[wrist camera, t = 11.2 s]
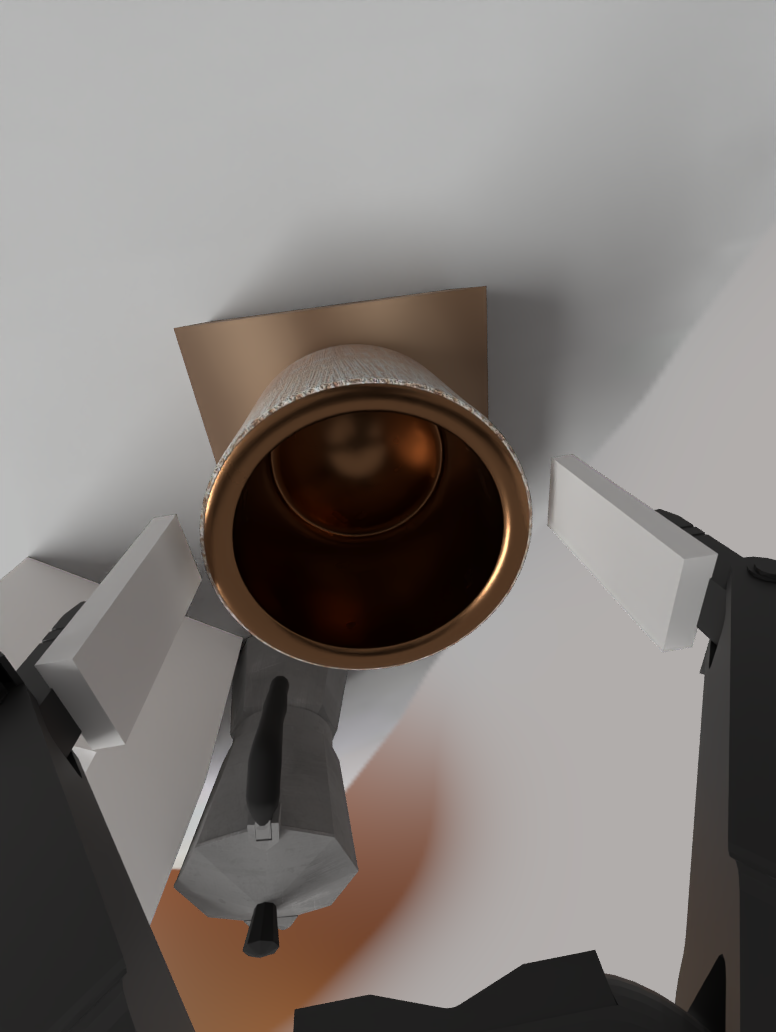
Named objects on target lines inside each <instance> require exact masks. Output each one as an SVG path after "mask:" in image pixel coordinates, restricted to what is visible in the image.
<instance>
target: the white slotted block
mask: <svg viewBox="0 0 776 1032" xmlns="http://www.w3.org/2000/svg"><path fill="white" fill-rule="evenodd" d="M99 585H100V584H98V583H96V582H93V581H91V580H88V579H85V578H83V577H80V576H77V575H75V574H72V573H69V572H67V571H64V570H61V569H59V568H56V567H53V566H51V565H48V564H45V563H43V562H40V561H37V560H35V559H32V558H29V557H27V558H26V559H25V560H23V561H22V562H21V563H20V564H19V565H17V566H16V567H15V568H14V569H13V570H12V571H10V572H9V573H8V574H7V575H6V576H4V577H3V578H2V579H1V580H0V652H2V653H3V654H4V655H5V657H6V658H7V659H8V661H9V662H10V664H11V665H12V666H13V668H14V669H15V671H16V670H17V669H18V668H19V667H20V666H21V665H22V663H23V662H24V661H25V660H26V659H27V657H28V656H29V655H30V654H31V653H32V651H33V650H34V649H35V648H36V647H37V646H38V644H39V643H42V640H43V638H44V637H45V636H46V635H47V634H48V633H49V632H51V631H52V628H53V627H54V625H55V624H56V623H57V622H58V621H59V620H60V618H61V617H62V616H63V615H64V614H65V613H67V612H68V611H69V610H71V609H72V608H73V607H75V606H76V605H77V604H79V603H80V602H83V601H87V600H88V598H89V597H90V596H91V595H92V593H93V592H94V591H95V590H96V588H97V587H98V586H99ZM242 640H243V638H242V637H240V636H237V635H234V634H232V633H229V632H226V631H224V630H221V629H218V628H216V627H213V626H210V625H208V624H205V623H202V622H200V621H197V620H194V619H192V618H189V617H186V616H185V617H184V619H183V621H182V624H181V626H180V628H179V630H178V632H177V634H176V636H175V639H174V641H173V643H172V645H171V647H170V649H169V651H168V654H167V656H166V658H165V660H164V662H163V664H162V666H161V669H160V671H159V673H158V675H157V677H156V679H155V682H154V684H153V686H152V688H151V690H150V692H149V694H148V697H147V699H146V701H145V703H144V705H143V707H142V709H141V712H140V714H139V716H138V718H137V720H136V722H135V724H134V727H133V729H132V731H131V733H130V735H129V737H128V740H127V742H126V744H124V745H118V746H113V747H107V748H101V749H95V750H92V749H91V747H90V746H89V745H88V743H87V742H86V740H85V739H84V737H83V736H82V734H80V736H79V738H78V740H77V741H76V743H75V745H74V747H73V748H72V750H73V752H74V753H75V754H76V756H77V757H78V759H79V761H80V763H81V766H82V768H83V770H84V773H85V775H86V777H87V780H88V782H89V784H90V787H91V789H92V791H93V794H94V796H95V798H96V801H97V803H98V805H99V808H100V810H101V812H102V815H103V817H104V819H105V822H106V824H107V826H108V829H109V831H110V833H111V836H112V838H113V840H114V843H115V845H116V847H117V850H118V852H119V855H120V857H121V859H122V862H123V864H124V866H125V869H126V871H127V873H128V876H129V878H130V880H131V883H132V885H133V887H134V890H135V892H136V894H137V897H138V899H139V901H140V904H141V906H142V908H143V911H144V913H145V915H146V918H147V920H148V922H149V925H150V924H151V921H152V919H153V916H154V914H155V911H156V908H157V905H158V903H159V900H160V898H161V895H162V892H163V890H164V888H165V884H166V882H167V880H168V877H169V874H170V872H171V869H172V867H173V864H174V861H175V859H176V856H177V854H178V851H179V848H180V846H181V843H182V841H183V838H184V835H185V833H186V830H187V828H188V825H189V822H190V820H191V817H192V814H193V812H194V809H195V807H196V804H197V801H198V799H199V796H200V794H201V791H202V788H203V786H204V783H205V781H206V777H207V773H208V769H209V766H210V762H211V758H212V754H213V750H214V747H215V743H216V739H217V735H218V731H219V728H220V724H221V720H222V716H223V712H224V709H225V705H226V701H227V697H228V693H229V689H230V686H231V682H232V678H233V674H234V670H235V667H236V663H237V659H238V655H239V651H240V648H241V644H242Z"/></svg>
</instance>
